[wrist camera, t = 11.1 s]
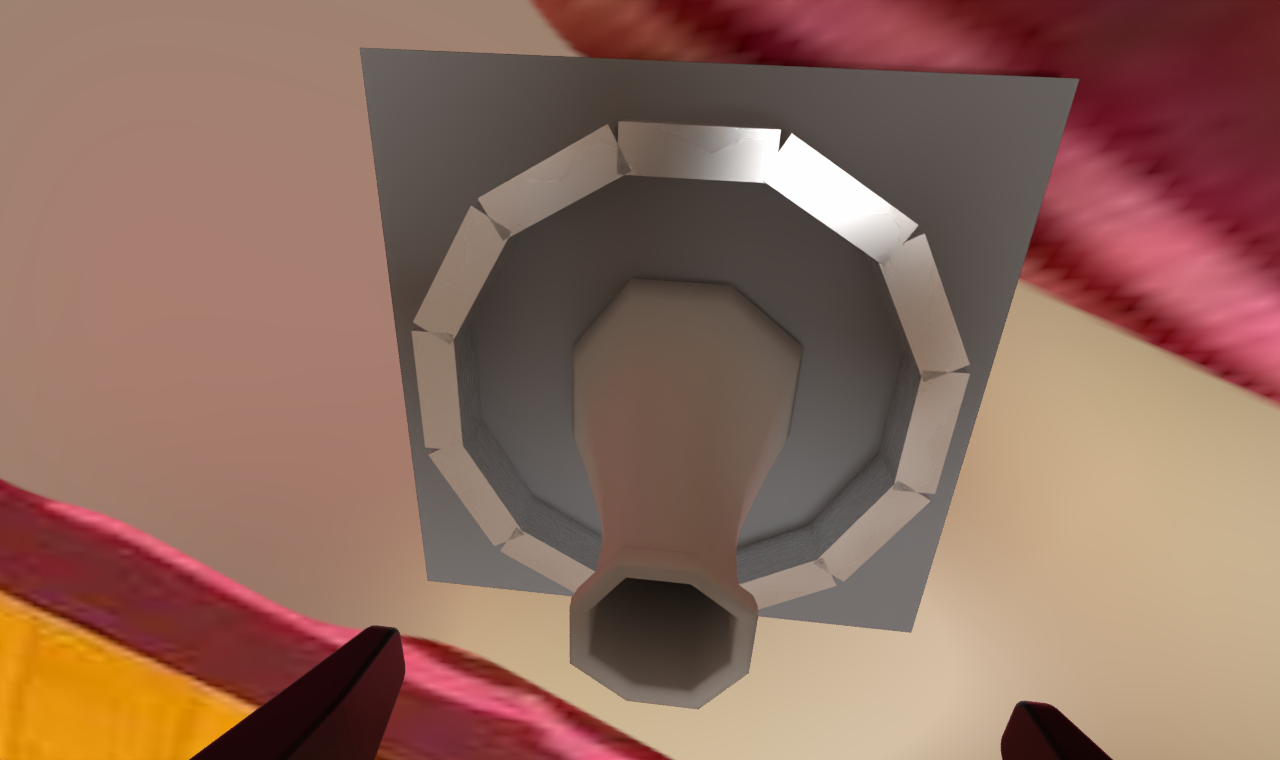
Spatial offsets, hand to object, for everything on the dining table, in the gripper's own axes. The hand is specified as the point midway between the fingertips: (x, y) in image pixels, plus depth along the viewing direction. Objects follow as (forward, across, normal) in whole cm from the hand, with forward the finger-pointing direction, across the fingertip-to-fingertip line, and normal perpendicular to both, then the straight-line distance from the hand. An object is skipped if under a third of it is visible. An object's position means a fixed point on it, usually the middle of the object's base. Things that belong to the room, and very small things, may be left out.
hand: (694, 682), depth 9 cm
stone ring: (+12, +1, 0) cm, 12 cm away
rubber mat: (+12, +1, 0) cm, 12 cm away
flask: (+11, +1, 0) cm, 11 cm away
